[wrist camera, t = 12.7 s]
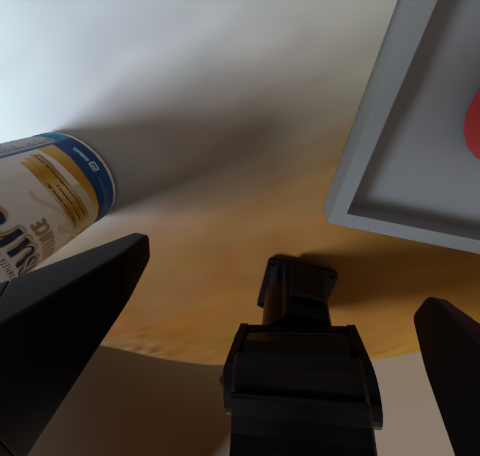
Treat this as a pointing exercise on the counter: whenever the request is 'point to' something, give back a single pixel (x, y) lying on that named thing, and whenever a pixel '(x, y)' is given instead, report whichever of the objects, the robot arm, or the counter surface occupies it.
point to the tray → (416, 132)
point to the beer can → (473, 126)
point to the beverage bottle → (48, 197)
